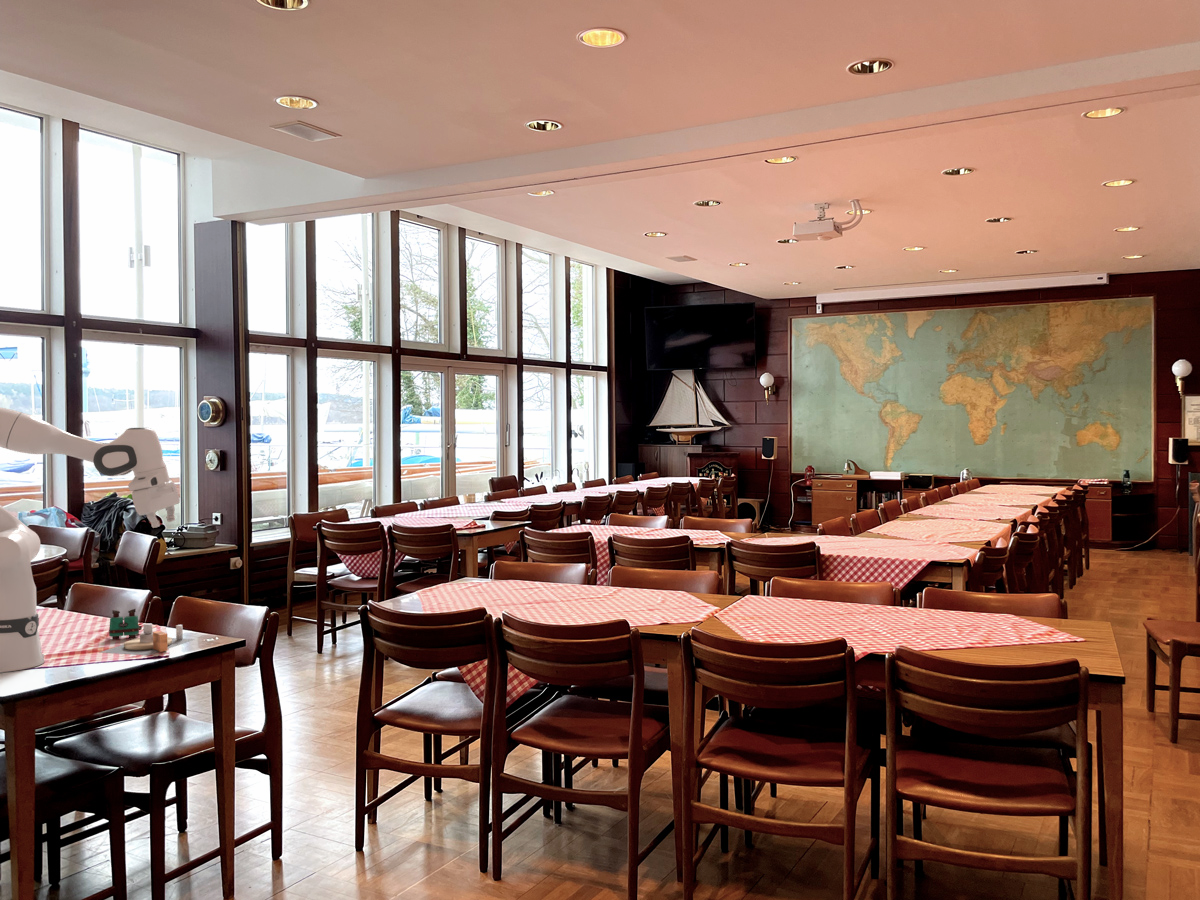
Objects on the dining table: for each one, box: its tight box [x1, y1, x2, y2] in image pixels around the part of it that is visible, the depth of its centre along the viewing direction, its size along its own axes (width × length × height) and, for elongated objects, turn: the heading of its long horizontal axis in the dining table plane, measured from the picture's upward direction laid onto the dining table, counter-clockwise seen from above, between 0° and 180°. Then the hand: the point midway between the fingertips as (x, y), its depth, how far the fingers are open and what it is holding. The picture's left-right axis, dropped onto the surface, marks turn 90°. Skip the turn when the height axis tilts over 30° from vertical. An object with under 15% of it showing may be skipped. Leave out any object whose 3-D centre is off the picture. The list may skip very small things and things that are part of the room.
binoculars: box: [108, 608, 142, 641], centre depth 282 cm, size 9×11×10 cm
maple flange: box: [123, 630, 173, 653], centre depth 268 cm, size 18×13×5 cm
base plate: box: [99, 623, 195, 656], centre depth 270 cm, size 17×20×8 cm
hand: (164, 524), depth 268 cm, fingers open, 8 cm apart
